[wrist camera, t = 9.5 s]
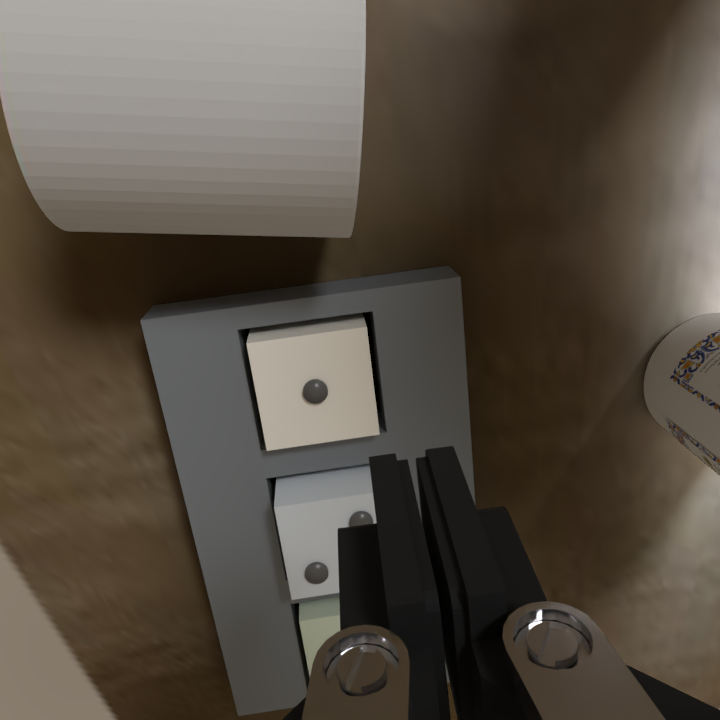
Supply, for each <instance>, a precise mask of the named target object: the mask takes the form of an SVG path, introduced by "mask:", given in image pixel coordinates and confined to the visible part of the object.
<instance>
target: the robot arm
mask: <svg viewBox="0 0 720 720" xmlns="http://www.w3.org/2000/svg"><path fill="white" fill-rule="evenodd" d="M369 464H370V473H371V481H372V489H373V497H374V506H375V514H376V522H377V523H375V524H367V525H359V526H352V527H344V528H338V567H339V601H340V631H339V632H337V633H335V634H334V635H333V636H331V637H330V638H328V639H327V640H326V641H325V642H324V643H323V645H322V646H321V647H320V648H319V650H318V651H317V653H316V656H315V659H314V661H313V665H312V670H311V675H310V680H309V685H308V690H307V695H306V697H305V698H304V699H303V700H302V701H301V702H300V703H299V704H298V705H297V706H296V707H295V708H294V709H293V710H292V711H291V712H290V713H289V714H288V715H287V716H286V717H285V718H284V719H283V720H450V709H449V698H448V687H447V677H446V666H447V671H448V676H449V681H450V685H451V690H452V695H453V699H454V704H455V709H456V713H457V718H458V720H720V710H718V709H716V708H714V707H712V706H710V705H708V704H706V703H704V702H702V701H700V700H698V699H696V698H694V697H692V696H690V695H687V694H685V693H683V692H681V691H679V690H677V689H675V688H673V687H671V686H669V685H667V684H665V683H663V682H661V681H659V680H657V679H655V678H652V677H650V676H648V675H646V674H644V673H642V672H640V671H638V670H636V669H634V668H632V667H630V666H628V665H626V664H625V663H624V662H623V660H622V659H621V657H620V656H619V655H618V653H617V652H616V650H615V649H614V648H613V646H612V645H611V644H610V642H609V641H608V639H607V638H606V637H605V635H604V634H603V633H602V631H601V630H600V628H599V627H598V626H597V625H596V624H595V623H594V622H593V621H592V620H591V618H590V617H589V616H588V615H586V614H584V613H583V612H581V611H579V610H578V609H576V608H574V607H571V606H568V605H565V604H562V603H558V602H548V601H547V600H546V597H545V595H544V593H543V591H542V588H541V586H540V584H539V581H538V579H537V577H536V575H535V572H534V570H533V568H532V565H531V563H530V561H529V559H528V556H527V554H526V552H525V549H524V547H523V545H522V543H521V540H520V538H519V536H518V533H517V531H516V529H515V527H514V524H513V522H512V520H511V517H510V515H509V513H508V511H507V509H506V508H505V507H497V508H489V509H482V510H477V509H476V506H475V503H474V501H473V498H472V495H471V493H470V490H469V487H468V484H467V482H466V479H465V476H464V473H463V471H462V468H461V465H460V462H459V460H458V457H457V454H456V451H455V449H454V447H453V446H447V447H439V448H432V449H426V450H425V457H420V458H416V468H417V478H418V488H419V498H420V508H421V517H420V512H419V508H418V503H417V499H416V494H415V490H414V486H413V481H412V477H411V472H410V468H409V464H408V460H407V459H404V460H397V457H396V453H394V454H386V455H378V456H371V457H369ZM421 518H422V521H421ZM445 662H446V666H445Z"/></svg>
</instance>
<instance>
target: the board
mask: <svg viewBox="0 0 720 720" xmlns="http://www.w3.org/2000/svg"><path fill="white" fill-rule="evenodd" d="M363 312H369V314H370V323H371V331H372V340H373V348H374V357H375V365H376V374H377V382H378V391H379V399H380V408H381V411H377V416H378V424H379V432H380V435H373V436H366V437H360V438H353V439H346V440H339V441H332V442H325V443H318V444H311V445H304V446H297V447H291V448H284V449H277V450H270V451H267V450H266V444H265V439H264V434H263V429H262V423H261V418H260V413H259V408H258V402H257V397H256V392H255V387H254V381H253V376H252V371H251V365H250V360H249V355H248V350H247V344H246V343H247V336H246V331H245V329H247V328H254V327H261V326H268V325H276V324H283V323H290V322H298V321H305V320H312V319H319V318H327V317H334V316H341V315H348V314H356V313H363ZM140 322H141V326H142V330H143V334H144V338H145V342H146V346H147V350H148V354H149V358H150V362H151V366H152V370H153V374H154V378H155V382H156V386H157V391H158V395H159V399H160V403H161V407H162V411H163V415H164V419H165V423H166V427H167V431H168V435H169V439H170V443H171V447H172V451H173V455H174V459H175V463H176V467H177V471H178V475H179V479H180V483H181V487H182V492H183V496H184V500H185V504H186V508H187V512H188V516H189V520H190V524H191V528H192V532H193V536H194V540H195V544H196V548H197V552H198V556H199V560H200V564H201V568H202V572H203V576H204V580H205V584H206V589H207V593H208V597H209V601H210V605H211V609H212V613H213V617H214V621H215V625H216V629H217V633H218V637H219V641H220V645H221V649H222V653H223V657H224V661H225V665H226V669H227V673H228V677H229V681H230V685H231V690H232V694H233V698H234V702H235V706H236V710H237V714H238V716H244V715H250V714H256V713H262V712H268V711H275V710H281V709H287V708H293V707H296V706H297V705H298V704H299V703H300V702H301V701H302V700H303V699H304V698H305V697H306V695H307V690H308V685H309V680H310V676H309V671H308V666H307V660H306V655H305V650H304V645H303V639H302V634H301V629H300V623H299V611H298V606H297V603H301V602H307V601H314V600H320V599H327V598H333V597H339V593H334V594H328V595H321V596H315V597H308V598H302V599H295V600H292V599H291V593H290V588H289V583H288V578H287V573H286V567H285V562H284V557H283V552H282V547H281V541H280V536H279V531H278V526H277V521H276V515H275V510H274V501H275V485H274V479H273V477H280V476H287V475H293V474H300V473H307V472H314V471H321V470H328V469H334V468H341V467H348V466H355V465H362V464H368V463H369V457H371V456H378V455H386V454H394V453H396V457H397V460H404V459H407V460H408V464H409V468H410V472H411V477H412V481H413V486H414V490H415V494H416V499H417V503H418V508H419V512H420V517H421V508H420V498H419V488H418V478H417V468H416V458H420V457H425V450H426V449H432V448H439V447H447V446H453V447H454V449H455V451H456V454H457V457H458V460H459V462H460V465H461V468H462V471H463V473H464V476H465V479H466V482H467V484H468V487H469V490H470V493H471V495H472V498H473V501H474V503H475V490H474V475H473V459H472V444H471V428H470V413H469V398H468V382H467V367H466V351H465V336H464V321H463V305H462V290H461V277H460V276H459V275H458V274H457V273H456V272H455V271H454V270H453V269H452V268H451V267H450V266H449V265H448V266H441V267H434V268H426V269H419V270H412V271H404V272H397V273H389V274H382V275H375V276H367V277H360V278H352V279H345V280H338V281H330V282H323V283H316V284H308V285H301V286H293V287H286V288H279V289H271V290H264V291H257V292H249V293H242V294H234V295H227V296H220V297H212V298H205V299H197V300H190V301H183V302H175V303H168V304H161V305H153V306H152V307H151V308H150V310H149V311H148V312H147V313H146V314H145V315H144V317H143V318H142V319H141V320H140ZM421 521H422V518H421ZM445 666H446V662H445ZM446 677H447V683H449V682H450V681H449V676H448V671H447V666H446Z"/></svg>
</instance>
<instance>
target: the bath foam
mask: <svg viewBox="0 0 720 720" xmlns="http://www.w3.org/2000/svg"><path fill="white" fill-rule="evenodd" d="M644 397H645V401H646V405H647V407H648V409H649V411H650V413H651V415H652V416H653V418H654V419H655V420H656V421H657V422H658V424H659V425H661V426H662V427H663V428H664V429H665V430H666V431H667V432H669V433H670V434H671V435H672V436H673V437H675V438H676V439H677V440H678V441H679V442H680V443H681V444H683V445H684V446H685V447H686V448H687V449H689V450H690V451H691V452H692V453H693V454H695V455H696V456H697V457H698V458H699V459H701V460H702V461H703V462H704V463H705V464H707V465H708V466H709V467H710V468H711V469H713V470H714V471H715V472H716V473H717V474H719V475H720V313H711V314H705V315H701V316H698V317H695V318H693V319H690V320H688V321H686V322H684V323H683V324H681V325H680V326H678V327H677V328H675V329H674V330H673V331H671V332H670V333H669V334H668V335H667V336H666V337H665V338H664V339H663V340H662V341H661V343H660V344H659V345H658V346H657V348H656V349H655V351H654V352H653V354H652V356H651V358H650V360H649V362H648V365H647V368H646V371H645V376H644Z"/></svg>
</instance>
